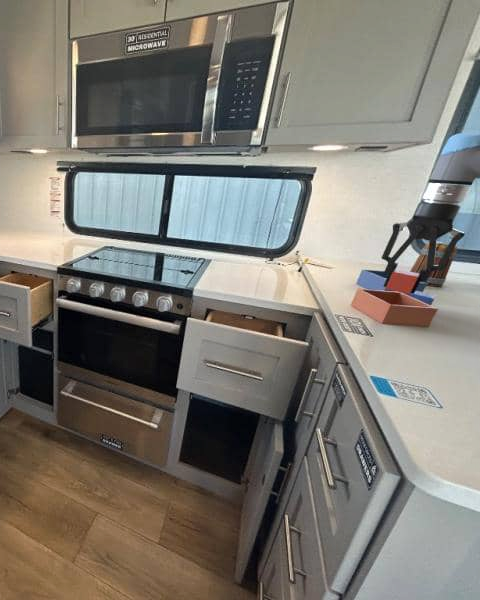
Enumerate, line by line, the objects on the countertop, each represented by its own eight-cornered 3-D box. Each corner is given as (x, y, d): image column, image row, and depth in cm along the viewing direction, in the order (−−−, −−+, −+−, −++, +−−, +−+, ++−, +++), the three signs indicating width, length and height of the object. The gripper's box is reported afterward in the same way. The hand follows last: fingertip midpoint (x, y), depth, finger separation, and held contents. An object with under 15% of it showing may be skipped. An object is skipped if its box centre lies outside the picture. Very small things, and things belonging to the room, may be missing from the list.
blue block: (427, 310, 100) (435, 295, 98) (426, 314, 97) (434, 298, 95) (405, 304, 103) (413, 290, 102) (403, 308, 100) (411, 293, 98)
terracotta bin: (428, 327, 88) (438, 308, 86) (381, 323, 89) (390, 305, 87) (391, 308, 100) (399, 291, 98) (350, 305, 100) (357, 288, 98)
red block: (411, 290, 91) (420, 273, 89) (409, 294, 88) (418, 276, 86) (388, 285, 95) (395, 268, 93) (385, 288, 91) (393, 271, 89)
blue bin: (419, 298, 109) (427, 283, 107) (382, 296, 110) (388, 280, 108) (390, 286, 121) (396, 271, 119) (356, 283, 121) (361, 269, 119)
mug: (443, 289, 121) (464, 249, 115) (405, 281, 127) (423, 243, 121) (440, 280, 132) (459, 243, 126) (405, 273, 138) (421, 238, 132)
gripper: (391, 198, 86) (356, 281, 95) (495, 208, 74) (443, 303, 83) (395, 197, 90) (361, 277, 100) (494, 207, 78) (445, 296, 87)
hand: (398, 288), depth 91 cm, fingers closed on red block, 5 cm apart
